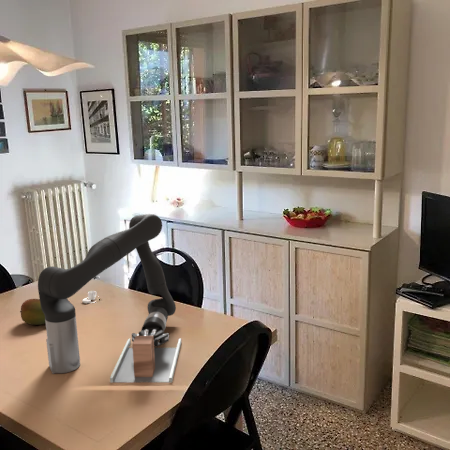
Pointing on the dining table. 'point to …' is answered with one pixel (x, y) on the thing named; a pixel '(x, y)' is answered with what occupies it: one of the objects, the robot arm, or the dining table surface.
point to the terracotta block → (143, 356)
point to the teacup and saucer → (90, 297)
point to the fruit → (32, 312)
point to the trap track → (163, 365)
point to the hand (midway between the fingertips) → (145, 349)
